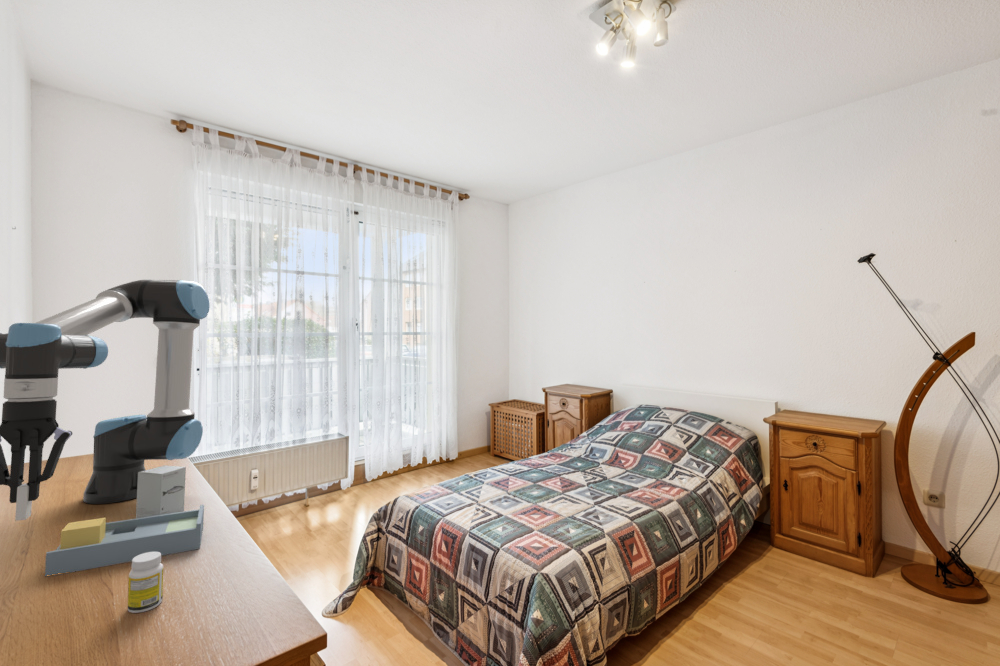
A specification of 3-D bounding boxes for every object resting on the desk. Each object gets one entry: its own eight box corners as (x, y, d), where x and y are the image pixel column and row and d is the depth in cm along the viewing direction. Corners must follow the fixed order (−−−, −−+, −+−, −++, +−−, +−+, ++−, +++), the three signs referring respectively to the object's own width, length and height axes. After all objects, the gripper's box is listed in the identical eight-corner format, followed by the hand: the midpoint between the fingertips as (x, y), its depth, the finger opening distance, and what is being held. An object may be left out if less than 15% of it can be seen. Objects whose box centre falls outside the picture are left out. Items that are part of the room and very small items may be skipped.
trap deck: (67, 549, 97) (68, 523, 97) (203, 526, 110) (204, 504, 110) (44, 577, 86) (46, 548, 86) (199, 548, 98) (200, 523, 99)
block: (67, 541, 94) (68, 522, 94) (105, 536, 97) (105, 517, 97) (60, 551, 90) (61, 531, 90) (99, 544, 93) (100, 525, 93)
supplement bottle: (140, 598, 79) (142, 550, 79) (168, 597, 79) (170, 549, 80) (119, 614, 74) (122, 563, 74) (149, 613, 75) (151, 562, 75)
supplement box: (158, 524, 111) (160, 473, 112) (134, 522, 113) (136, 471, 113) (185, 514, 118) (186, 466, 119) (162, 511, 120) (163, 464, 120)
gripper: (-26, 402, 83) (-35, 530, 82) (68, 399, 90) (61, 518, 89) (-8, 398, 90) (-16, 517, 89) (79, 396, 97) (73, 506, 95)
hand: (23, 517), depth 89 cm, fingers closed
